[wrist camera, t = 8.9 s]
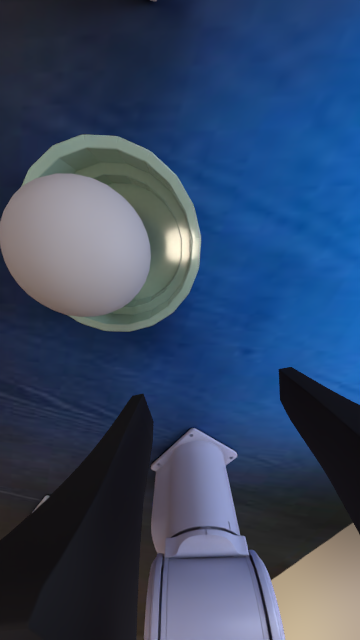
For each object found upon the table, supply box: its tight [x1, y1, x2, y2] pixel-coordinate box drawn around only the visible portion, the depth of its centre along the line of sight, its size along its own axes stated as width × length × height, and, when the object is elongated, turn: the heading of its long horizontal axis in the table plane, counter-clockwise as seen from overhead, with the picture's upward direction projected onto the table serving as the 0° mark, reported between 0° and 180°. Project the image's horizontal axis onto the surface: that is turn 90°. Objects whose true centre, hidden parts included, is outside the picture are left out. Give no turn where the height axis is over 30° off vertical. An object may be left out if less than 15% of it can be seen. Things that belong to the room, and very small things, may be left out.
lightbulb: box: [0, 173, 151, 317], centre depth 12 cm, size 6×6×11 cm
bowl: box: [22, 134, 201, 332], centre depth 15 cm, size 12×12×5 cm
